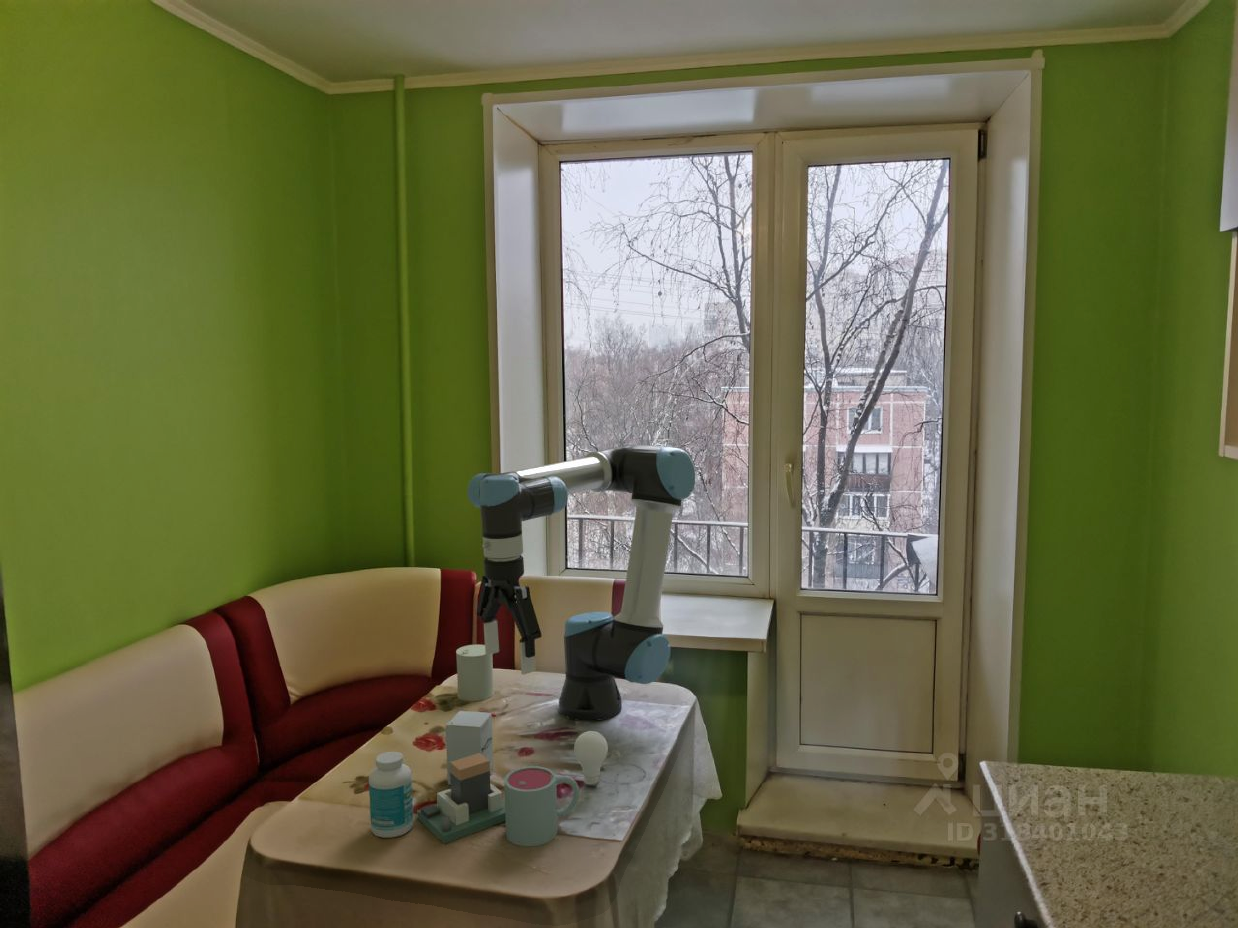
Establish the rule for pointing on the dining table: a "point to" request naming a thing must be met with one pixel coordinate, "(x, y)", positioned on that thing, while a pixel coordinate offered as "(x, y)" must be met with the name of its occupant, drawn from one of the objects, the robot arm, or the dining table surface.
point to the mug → (534, 804)
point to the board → (460, 816)
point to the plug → (471, 782)
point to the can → (474, 673)
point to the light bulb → (591, 755)
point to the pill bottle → (390, 796)
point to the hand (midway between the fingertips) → (509, 662)
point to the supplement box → (469, 737)
